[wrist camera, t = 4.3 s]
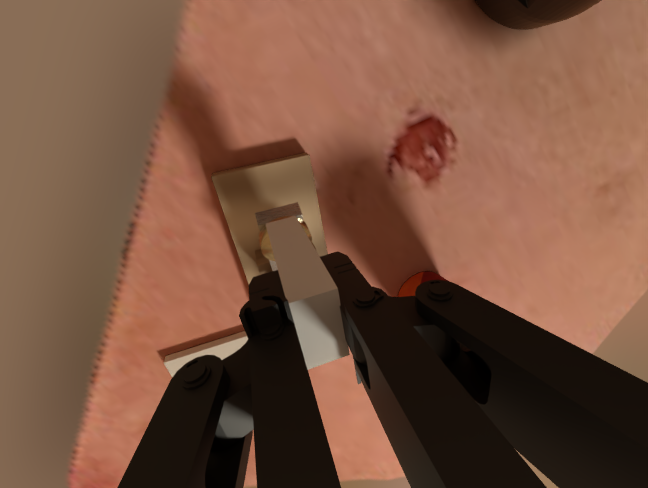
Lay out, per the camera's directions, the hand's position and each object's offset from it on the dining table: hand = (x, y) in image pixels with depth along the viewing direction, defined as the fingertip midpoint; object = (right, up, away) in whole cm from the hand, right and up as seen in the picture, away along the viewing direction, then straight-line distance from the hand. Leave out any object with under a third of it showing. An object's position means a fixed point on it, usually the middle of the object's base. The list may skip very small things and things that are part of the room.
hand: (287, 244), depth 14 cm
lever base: (-2, 0, +10) cm, 10 cm away
